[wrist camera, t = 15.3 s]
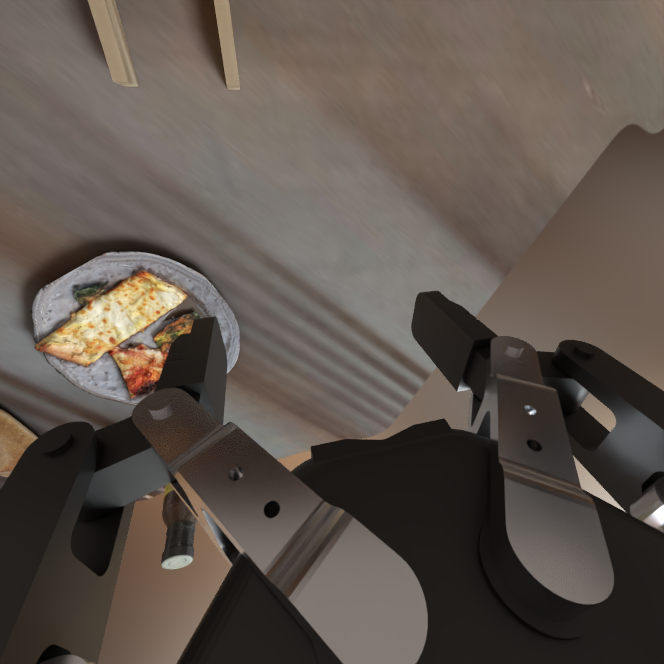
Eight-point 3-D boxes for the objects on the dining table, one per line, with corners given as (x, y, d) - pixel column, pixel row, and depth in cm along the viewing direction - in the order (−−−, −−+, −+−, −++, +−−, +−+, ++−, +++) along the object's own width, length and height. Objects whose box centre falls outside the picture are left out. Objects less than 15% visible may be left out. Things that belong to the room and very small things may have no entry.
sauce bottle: (167, 447, 56) (138, 573, 40) (186, 427, 55) (163, 549, 38) (199, 456, 60) (184, 575, 43) (217, 437, 58) (208, 553, 42)
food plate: (137, 416, 51) (131, 433, 48) (-10, 315, 37) (-30, 329, 34) (265, 345, 50) (267, 357, 47) (164, 216, 37) (158, 222, 34)
